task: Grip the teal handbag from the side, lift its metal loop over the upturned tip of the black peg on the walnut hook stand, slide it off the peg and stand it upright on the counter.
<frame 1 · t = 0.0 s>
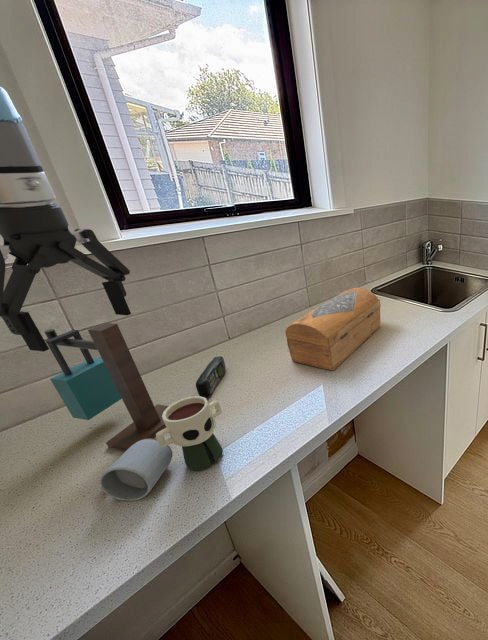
hand: (86, 330, 59), 26 cm above the countertop, tool pointing down, fingers open, 13 cm apart
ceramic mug: (139, 484, 62), on the countertop
hook stand: (149, 429, 74), on the countertop
wooden box: (339, 342, 109), on the countertop
character mug: (206, 460, 66), on the countertop
teal handbag: (100, 406, 73), point 5 cm above the countertop, touching hook stand
mobile phone: (215, 382, 90), on the countertop
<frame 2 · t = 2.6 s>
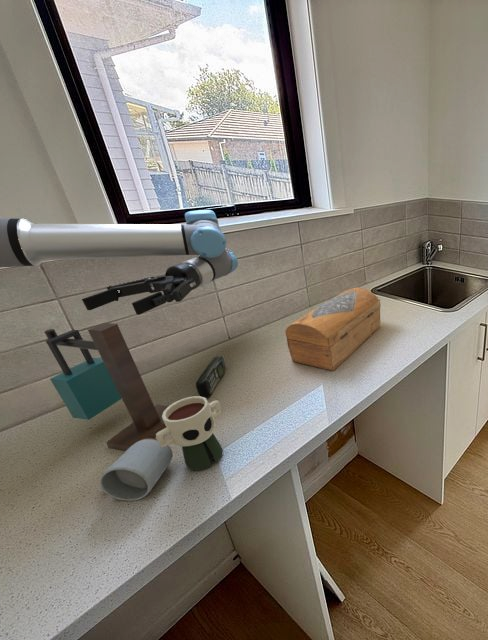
hand: (110, 306, 73), 24 cm above the countertop, tool horizontal, fingers open, 13 cm apart
nothing on the countertop moved.
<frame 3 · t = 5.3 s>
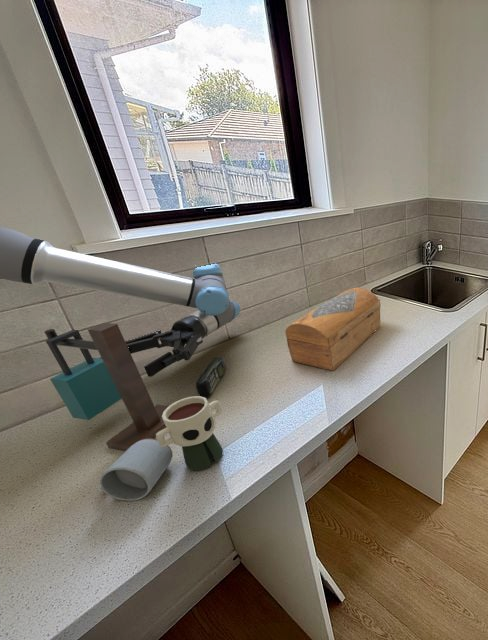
hand: (122, 369, 77), 10 cm above the countertop, tool horizontal, fingers open, 13 cm apart
nothing on the countertop moved.
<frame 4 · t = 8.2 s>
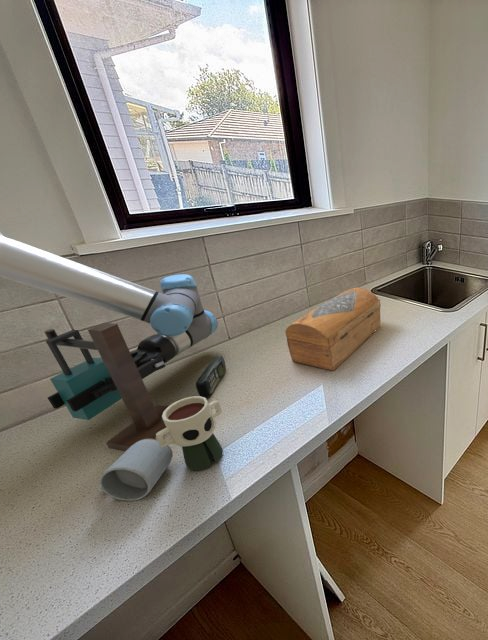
hand: (62, 404, 66), 10 cm above the countertop, tool horizontal, fingers closed on teal handbag, 4 cm apart
teal handbag: (100, 406, 73), point 5 cm above the countertop, touching gripper, hook stand
everything else where it was.
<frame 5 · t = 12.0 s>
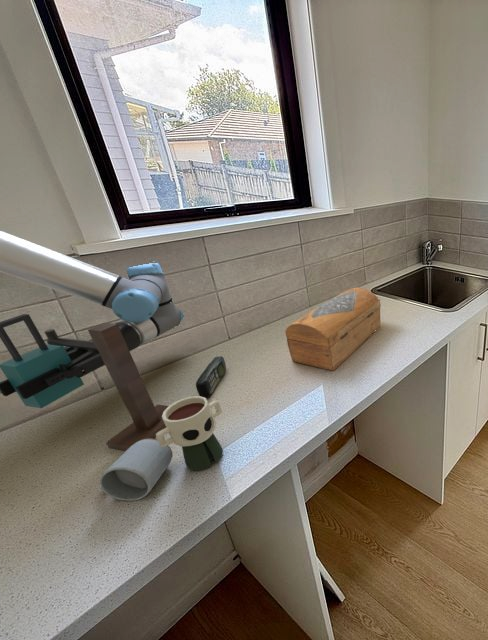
hand: (11, 391, 64), 14 cm above the countertop, tool horizontal, fingers closed on teal handbag, 4 cm apart
teal handbag: (56, 394, 71), point 9 cm above the countertop, touching gripper
everything else where it was.
when the fingers open (5 cm above the countertop, at t = 15.7 s): teal handbag stays where it is, on the countertop.
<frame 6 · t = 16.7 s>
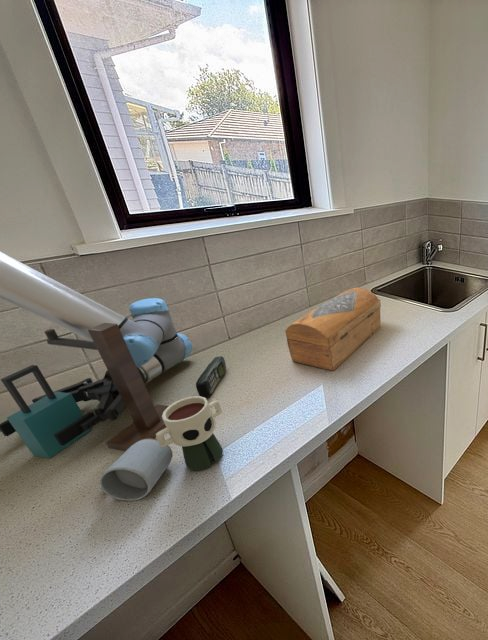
hand: (29, 435, 65), 5 cm above the countertop, tool horizontal, fingers open, 13 cm apart
teal handbag: (64, 442, 70), on the countertop
everything else where it was.
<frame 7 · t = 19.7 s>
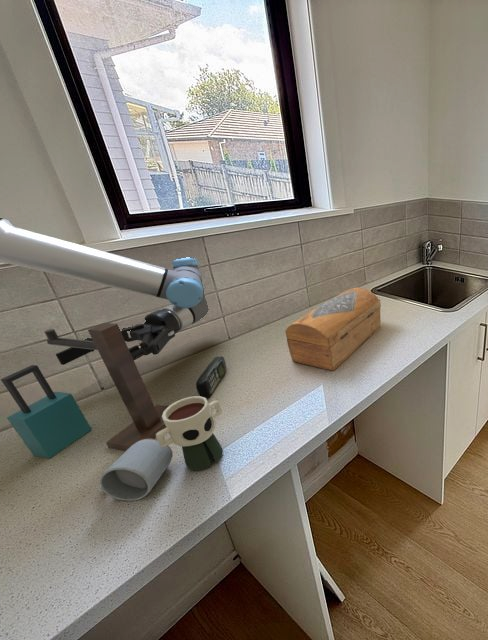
hand: (84, 362, 73), 14 cm above the countertop, tool horizontal, fingers open, 13 cm apart
nothing on the countertop moved.
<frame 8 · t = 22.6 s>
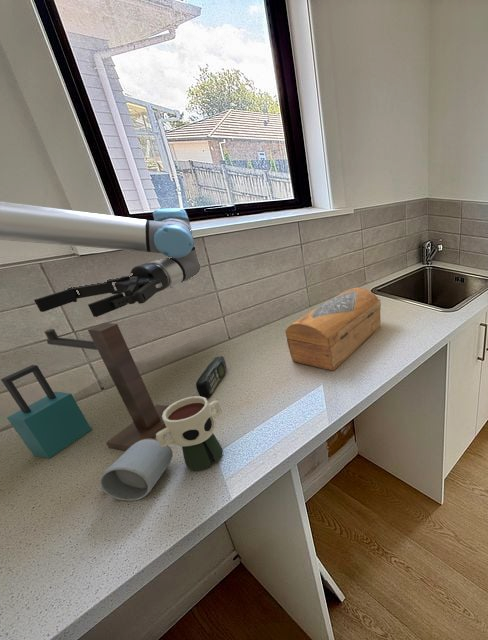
hand: (64, 308, 69), 26 cm above the countertop, tool horizontal, fingers open, 13 cm apart
nothing on the countertop moved.
at the end: teal handbag inside the target area (0.7 cm from its centre), on the countertop; teal handbag touching countertop; teal handbag tilted 0° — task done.
